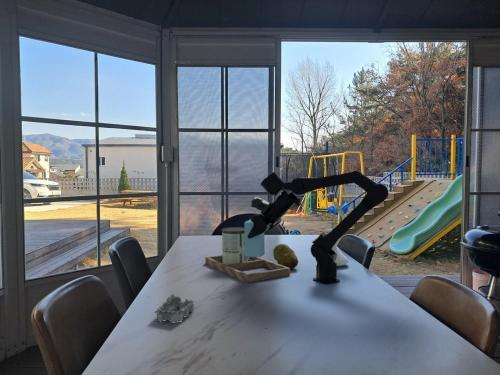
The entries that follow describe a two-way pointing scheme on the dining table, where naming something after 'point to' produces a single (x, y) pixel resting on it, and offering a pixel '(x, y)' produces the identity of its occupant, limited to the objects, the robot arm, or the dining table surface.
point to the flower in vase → (340, 257)
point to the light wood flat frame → (253, 263)
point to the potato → (285, 256)
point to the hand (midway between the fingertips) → (251, 236)
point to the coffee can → (233, 245)
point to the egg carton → (174, 309)
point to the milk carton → (253, 242)
